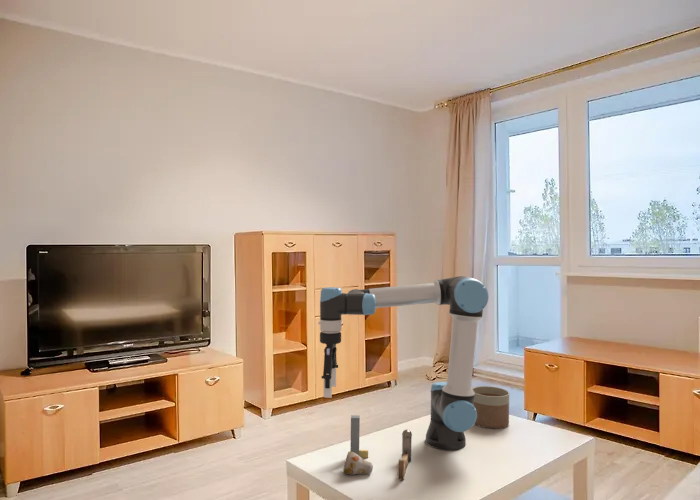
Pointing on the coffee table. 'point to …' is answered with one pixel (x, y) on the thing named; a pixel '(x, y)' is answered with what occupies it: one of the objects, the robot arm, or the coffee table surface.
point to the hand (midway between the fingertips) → (329, 391)
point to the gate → (402, 466)
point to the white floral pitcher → (357, 465)
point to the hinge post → (406, 443)
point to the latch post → (356, 437)
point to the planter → (491, 406)
